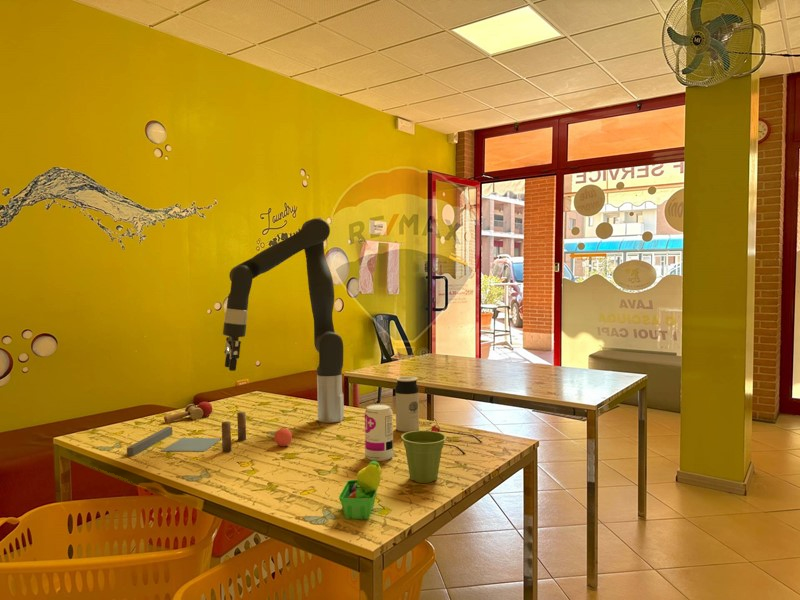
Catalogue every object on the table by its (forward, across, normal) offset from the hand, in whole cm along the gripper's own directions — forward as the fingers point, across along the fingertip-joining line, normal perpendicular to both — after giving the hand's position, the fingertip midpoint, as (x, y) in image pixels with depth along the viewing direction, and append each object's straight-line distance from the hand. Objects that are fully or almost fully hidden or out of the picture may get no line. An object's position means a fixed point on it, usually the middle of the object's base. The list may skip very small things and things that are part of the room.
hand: (230, 368), depth 193 cm
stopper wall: (+26, -2, +22) cm, 34 cm away
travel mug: (+14, -27, -58) cm, 65 cm away
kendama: (+24, +28, +8) cm, 38 cm away
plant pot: (+17, -72, -39) cm, 84 cm away
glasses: (+14, -50, -61) cm, 80 cm away
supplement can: (+17, -50, -36) cm, 65 cm away
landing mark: (+24, -9, +11) cm, 28 cm away
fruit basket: (+20, -83, -18) cm, 87 cm away
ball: (+18, -25, -14) cm, 34 cm away
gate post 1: (+23, -22, +2) cm, 32 cm away
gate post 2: (+22, -11, -4) cm, 25 cm away
